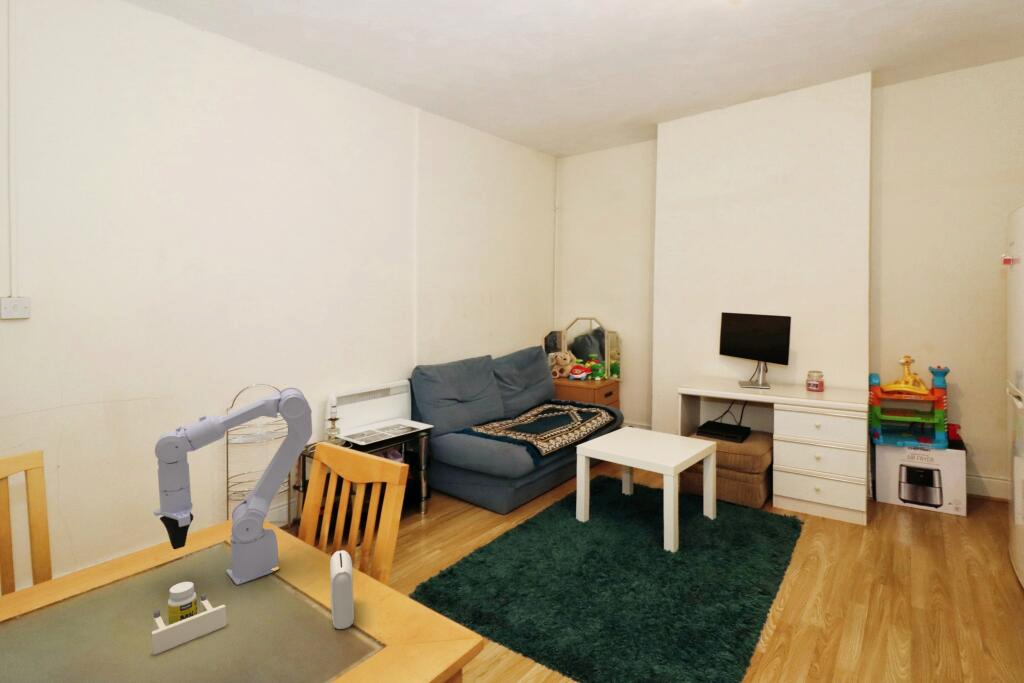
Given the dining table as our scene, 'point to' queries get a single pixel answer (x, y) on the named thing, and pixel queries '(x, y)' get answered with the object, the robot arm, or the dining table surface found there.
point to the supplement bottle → (182, 602)
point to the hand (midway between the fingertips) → (178, 547)
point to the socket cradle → (187, 626)
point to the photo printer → (341, 590)
